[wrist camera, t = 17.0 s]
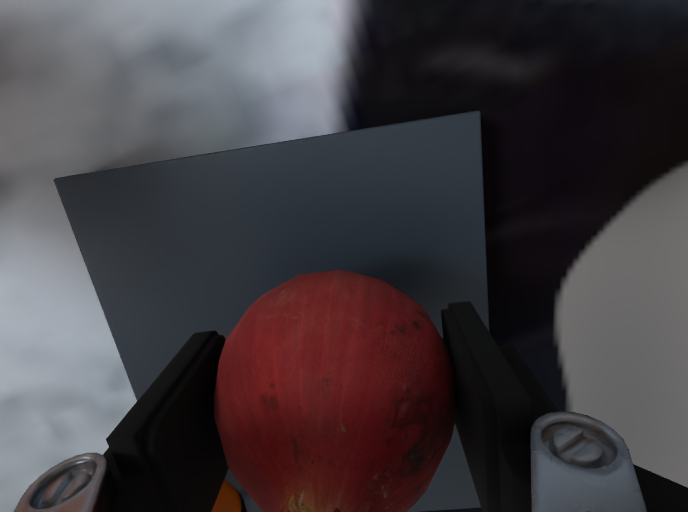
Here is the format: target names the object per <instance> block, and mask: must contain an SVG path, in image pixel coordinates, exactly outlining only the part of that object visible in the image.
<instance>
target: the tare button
mask: <svg viewBox="0 0 688 512" xmlns="http://www.w3.org/2000/svg"><path fill="white" fill-rule="evenodd" d="M241 509H242V504H241V498H240V496H239V493H238V491H237V490H236V488H234V487H233V486H232V485H231V484H230V483H229V482H228V481H227V480H226V479H224V482H223V484H222V487H221V489H220V492H219V494H218V497H217V499H216V502H215V504H214V507H213V509H212V512H241Z"/></svg>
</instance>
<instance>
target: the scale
mask: <svg viewBox="0 0 688 512" xmlns="http://www.w3.org/2000/svg"><path fill="white" fill-rule="evenodd" d="M54 182H55V185H56V188H57V190H58V193H59V196H60V198H61V201H62V203H63V206H64V209H65V211H66V214H67V217H68V219H69V222H70V225H71V227H72V230H73V232H74V235H75V238H76V240H77V243H78V246H79V248H80V251H81V254H82V256H83V259H84V262H85V264H86V267H87V269H88V272H89V275H90V277H91V280H92V283H93V285H94V288H95V291H96V293H97V296H98V299H99V301H100V304H101V306H102V309H103V312H104V314H105V317H106V320H107V322H108V325H109V328H110V330H111V333H112V336H113V338H114V341H115V343H116V346H117V349H118V351H119V354H120V357H121V359H122V362H123V365H124V367H125V370H126V373H127V375H128V378H129V380H130V383H131V386H132V388H133V391H134V394H135V396H136V399H137V401H138V400H139V399H140V398H141V396H142V395H143V394H144V393H145V391H146V390H147V389H148V388H149V387H150V385H151V384H152V383H153V382H154V381H155V379H156V378H157V377H158V376H159V375H160V373H161V372H162V371H163V370H164V369H165V367H166V366H167V365H168V364H169V362H170V361H171V360H172V359H173V358H174V356H175V355H176V354H177V353H178V352H179V350H180V349H181V348H182V347H183V346H184V344H185V343H186V342H187V341H188V339H189V338H190V337H191V336H192V335H193V334H194V333H197V332H205V331H214V330H215V331H217V332H218V334H219V335H223V336H224V337H225V339H226V338H227V337H228V336H229V334H230V333H231V332H232V330H233V329H234V328H235V326H236V325H237V324H238V322H239V321H240V319H241V318H242V317H243V315H244V314H245V313H246V311H247V310H248V309H249V307H250V306H251V305H252V304H253V303H254V302H255V301H256V300H258V299H259V298H260V297H261V296H262V295H263V294H265V293H267V292H269V291H270V290H272V289H274V288H276V287H278V286H279V285H281V284H283V283H285V282H287V281H288V280H290V279H292V278H294V277H296V276H297V275H300V274H308V273H316V272H324V271H332V270H344V271H349V272H353V273H357V274H361V275H366V276H370V277H374V278H379V279H381V280H383V281H385V282H386V283H388V284H390V285H391V286H393V287H394V288H396V289H398V290H399V291H401V292H403V293H404V294H406V295H407V296H409V297H411V298H412V299H414V300H416V301H417V302H418V303H419V304H420V305H421V306H422V308H423V309H424V310H425V311H426V312H427V314H428V316H429V317H430V319H431V321H432V322H433V324H434V326H435V327H436V329H437V331H438V332H439V334H440V336H441V337H442V339H443V331H442V319H441V310H442V309H448V304H449V303H456V302H465V301H470V302H471V303H472V305H473V306H474V308H475V310H476V311H477V313H478V315H479V316H480V318H481V319H482V321H483V323H484V324H485V326H486V328H487V329H488V331H489V311H488V287H487V262H486V238H485V214H484V189H483V165H482V140H481V116H480V111H472V112H465V113H459V114H453V115H447V116H440V117H434V118H428V119H422V120H415V121H409V122H403V123H396V124H390V125H384V126H378V127H371V128H365V129H359V130H353V131H346V132H340V133H334V134H328V135H321V136H315V137H309V138H303V139H296V140H290V141H284V142H277V143H271V144H265V145H259V146H252V147H246V148H240V149H234V150H227V151H221V152H215V153H209V154H202V155H196V156H190V157H184V158H177V159H171V160H165V161H159V162H152V163H146V164H140V165H133V166H127V167H121V168H115V169H108V170H102V171H96V172H90V173H83V174H77V175H71V176H65V177H59V178H55V179H54ZM225 479H226V480H227V481H228V482H229V483H230V484H231V485H232V486H233V487H234V488H236V490H237V491H238V493H239V496H240V498H241V504H242V509H241V512H262V510H261V509H260V508H259V507H258V505H257V504H256V503H255V502H254V500H253V499H252V498H251V497H250V495H249V494H248V493H247V492H246V491H245V490H244V488H243V487H242V486H241V485H240V484H239V483H238V482H237V480H236V479H235V478H234V476H233V474H232V473H231V471H230V469H228V472H227V474H226V477H225ZM480 507H481V505H480V502H479V499H478V496H477V492H476V489H475V486H474V483H473V480H472V476H471V473H470V470H469V467H468V463H467V460H466V457H465V454H464V450H463V447H462V444H461V441H460V437H459V434H458V431H457V428H456V425H454V430H453V435H452V439H451V441H450V443H449V446H448V448H447V450H446V452H445V454H444V456H443V458H442V460H441V462H440V464H439V466H438V468H437V470H436V472H435V474H434V476H433V478H432V480H431V482H430V484H429V486H428V488H427V490H426V492H425V493H424V494H423V496H422V497H421V498H420V499H419V500H418V501H417V502H416V504H415V505H413V506H412V507H411V508H410V509H409V510H408V511H407V512H419V511H434V510H450V509H465V508H480Z"/></svg>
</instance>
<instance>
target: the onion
mask: <svg viewBox="0 0 688 512" xmlns="http://www.w3.org/2000/svg"><path fill="white" fill-rule="evenodd" d="M214 419H215V422H216V426H217V429H218V433H219V436H220V440H221V443H222V447H223V451H224V454H225V458H226V462H227V466H228V468H229V469H230V471H231V473H232V474H233V476H234V478H235V479H236V480H237V482H238V483H239V484H240V485H241V486H242V487H243V488H244V490H245V491H246V492H247V493H248V494H249V495H250V497H251V498H252V499H253V500H254V502H255V503H256V504H257V505H258V507H259V508H260V509H261V510H262V512H407V511H408V510H409V509H410V508H411V507H412V506H413V505H415V504H416V502H417V501H418V500H419V499H420V498H421V497H422V496H423V494H424V493H425V492H426V490H427V488H428V486H429V484H430V482H431V480H432V478H433V476H434V474H435V472H436V470H437V468H438V466H439V464H440V462H441V460H442V458H443V456H444V454H445V452H446V450H447V448H448V446H449V443H450V441H451V439H452V435H453V430H454V425H455V420H456V417H455V382H454V368H453V363H452V359H451V356H450V353H449V349H448V347H447V346H446V344H445V342H444V341H443V339H442V337H441V336H440V334H439V332H438V331H437V329H436V327H435V326H434V324H433V322H432V321H431V319H430V317H429V316H428V314H427V312H426V311H425V310H424V309H423V308H422V306H421V305H420V304H419V303H418V302H417V301H416V300H414V299H412V298H411V297H409V296H407V295H406V294H404V293H403V292H401V291H399V290H398V289H396V288H394V287H393V286H391V285H390V284H388V283H386V282H385V281H383V280H381V279H379V278H374V277H370V276H366V275H361V274H357V273H353V272H349V271H344V270H332V271H324V272H316V273H308V274H300V275H297V276H296V277H294V278H292V279H290V280H288V281H287V282H285V283H283V284H281V285H279V286H278V287H276V288H274V289H272V290H270V291H269V292H267V293H265V294H263V295H262V296H261V297H260V298H259V299H258V300H256V301H255V302H254V303H253V304H252V305H251V306H250V307H249V309H248V310H247V311H246V313H245V314H244V315H243V317H242V318H241V319H240V321H239V322H238V324H237V325H236V326H235V328H234V329H233V330H232V332H231V333H230V334H229V336H228V337H227V338H226V341H225V344H224V347H223V350H222V353H221V356H220V359H219V365H218V372H217V378H216V385H215V392H214Z"/></svg>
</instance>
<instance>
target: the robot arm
mask: <svg viewBox="0 0 688 512" xmlns="http://www.w3.org/2000/svg"><path fill="white" fill-rule="evenodd" d="M441 319H442V331H443V341H444V342H445V344H446V346H447V347H448V349H449V353H450V356H451V359H452V363H453V368H454V382H455V417H456V420H455V425H456V428H457V431H458V434H459V437H460V441H461V444H462V447H463V450H464V454H465V457H466V460H467V463H468V467H469V470H470V473H471V476H472V480H473V483H474V486H475V489H476V492H477V496H478V499H479V502H480V505H481V509H482V512H688V488H687V487H685V486H682V485H680V484H678V483H675V482H673V481H671V480H669V479H666V478H664V477H661V476H659V475H657V474H655V473H652V472H650V471H648V470H645V469H643V468H641V467H638V466H636V465H634V464H633V463H632V459H631V456H630V453H629V449H628V448H627V446H626V444H625V442H624V440H623V438H621V437H620V436H619V434H618V433H617V432H616V431H614V429H612V428H611V427H609V426H608V425H606V424H605V423H603V422H601V421H599V420H597V419H595V418H592V417H590V416H587V415H583V414H579V413H575V412H561V411H559V412H558V410H557V409H556V407H555V406H554V404H553V403H552V401H551V400H550V399H549V397H548V396H547V394H546V393H545V391H544V390H543V388H542V387H541V385H540V384H539V382H538V381H537V380H536V378H535V377H534V375H533V374H532V372H531V371H530V369H529V368H528V366H527V365H526V364H525V362H524V361H523V359H522V358H521V356H520V355H519V353H518V352H517V350H516V349H515V348H514V347H513V346H506V347H498V346H497V344H496V342H495V341H494V339H493V337H492V336H491V334H490V333H489V331H488V329H487V328H486V326H485V324H484V323H483V321H482V319H481V318H480V316H479V315H478V313H477V311H476V310H475V308H474V306H473V305H472V303H471V302H470V301H465V302H456V303H449V304H448V309H442V310H441ZM225 341H226V339H225V337H224V336H223V335H219V334H218V332H217V331H215V330H214V331H205V332H197V333H194V334H193V335H192V336H191V337H190V338H189V339H188V341H187V342H186V343H185V344H184V346H183V347H182V348H181V349H180V350H179V352H178V353H177V354H176V355H175V356H174V358H173V359H172V360H171V361H170V362H169V364H168V365H167V366H166V367H165V369H164V370H163V371H162V372H161V373H160V375H159V376H158V377H157V378H156V379H155V381H154V382H153V383H152V384H151V385H150V387H149V388H148V389H147V390H146V391H145V393H144V394H143V395H142V396H141V398H140V399H139V400H138V401H137V402H136V404H135V405H134V406H133V407H132V408H131V410H130V411H129V412H128V413H127V414H126V416H125V417H124V418H123V419H122V421H121V422H120V423H119V424H118V425H117V427H116V428H115V429H114V430H113V431H112V433H111V434H110V435H109V436H108V437H107V439H106V441H107V443H108V445H109V448H108V449H107V451H106V452H105V453H104V454H103V455H101V454H99V453H85V454H81V455H76V456H74V457H72V458H69V459H67V460H64V461H63V462H61V463H59V464H57V465H55V466H54V467H52V468H51V469H49V470H48V471H46V472H45V473H44V474H42V475H41V476H40V477H39V478H38V479H37V480H36V481H34V482H33V483H32V484H31V485H30V486H29V488H28V489H27V490H26V492H25V493H24V495H23V496H22V497H21V499H20V501H19V503H18V505H17V506H16V508H15V510H14V512H212V509H213V507H214V504H215V502H216V499H217V497H218V494H219V492H220V489H221V487H222V484H223V482H224V479H225V477H226V474H227V472H228V469H229V468H228V466H227V462H226V458H225V454H224V451H223V447H222V443H221V440H220V436H219V433H218V429H217V426H216V422H215V419H214V392H215V385H216V378H217V372H218V365H219V359H220V356H221V353H222V350H223V347H224V344H225Z"/></svg>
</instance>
